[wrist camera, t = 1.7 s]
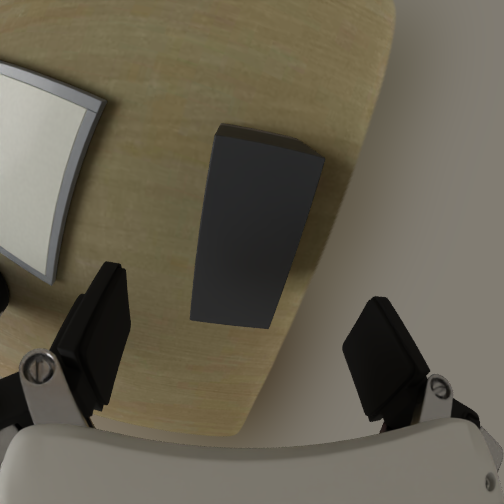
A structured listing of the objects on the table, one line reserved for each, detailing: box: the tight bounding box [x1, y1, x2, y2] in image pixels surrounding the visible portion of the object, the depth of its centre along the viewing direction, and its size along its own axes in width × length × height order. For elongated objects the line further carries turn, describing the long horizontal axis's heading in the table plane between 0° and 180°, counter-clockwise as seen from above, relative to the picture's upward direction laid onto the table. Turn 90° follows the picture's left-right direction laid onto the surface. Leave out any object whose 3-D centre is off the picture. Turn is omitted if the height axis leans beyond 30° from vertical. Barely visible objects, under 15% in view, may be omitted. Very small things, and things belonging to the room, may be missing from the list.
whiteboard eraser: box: [190, 123, 325, 329], centre depth 15 cm, size 10×5×6 cm, turn 168°
